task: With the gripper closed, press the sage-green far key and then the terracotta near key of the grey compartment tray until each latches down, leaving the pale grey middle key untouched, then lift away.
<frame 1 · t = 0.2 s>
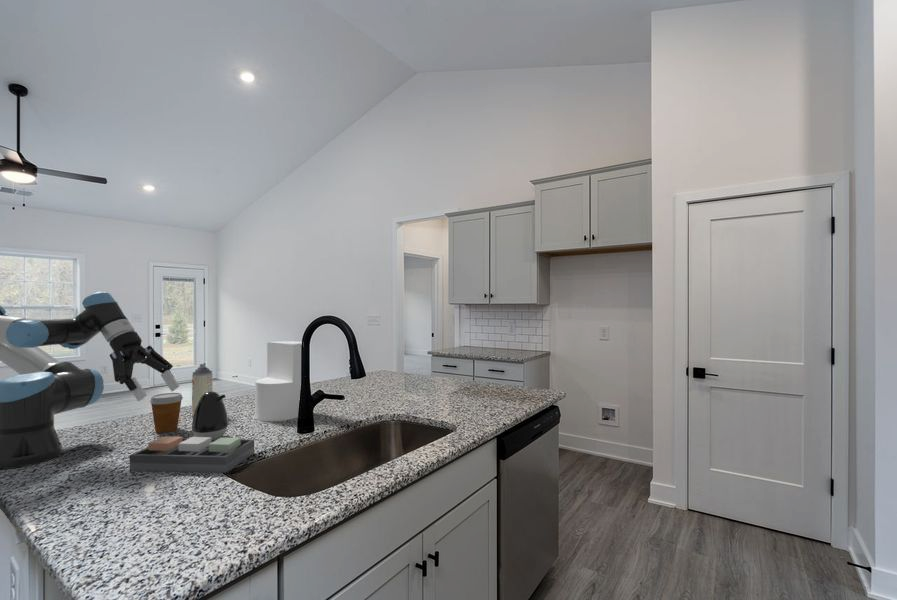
hand: (160, 393, 130), 16 cm above the worktop, tool tilted 35°, fingers open, 13 cm apart
key sage: (224, 444, 116), point 5 cm above the worktop, slide at 0.0 cm
key grey: (195, 444, 116), point 5 cm above the worktop, slide at 0.0 cm
white toilet: (279, 415, 164), on the worktop
disposable coffee cup: (166, 430, 145), on the worktop
key terracotta: (165, 443, 117), point 5 cm above the worktop, slide at 0.0 cm
aerosol can: (202, 416, 164), on the worktop
grey compartment tray: (195, 461, 116), on the worktop
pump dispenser: (210, 439, 136), on the worktop
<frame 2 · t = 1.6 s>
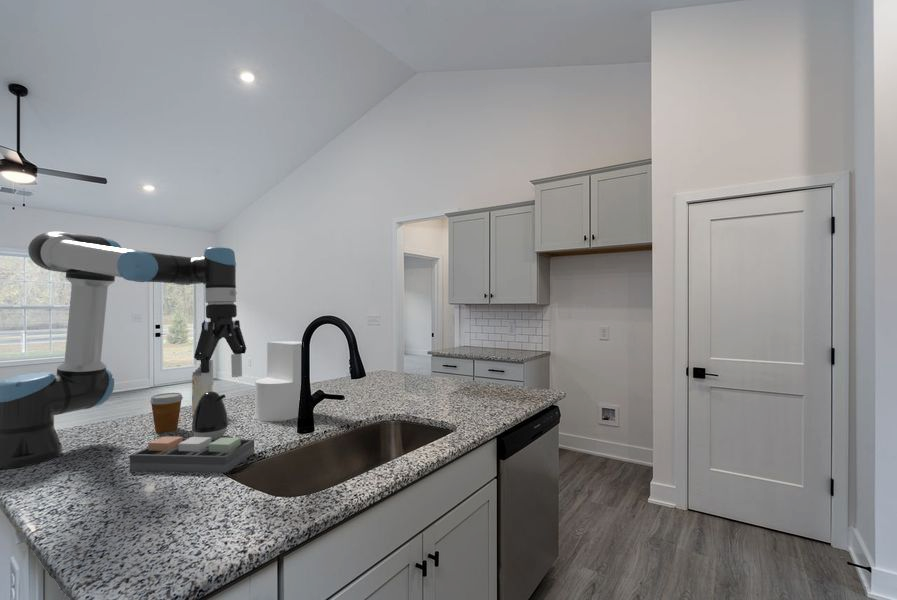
hand: (223, 380, 116), 22 cm above the worktop, tool pointing down, fingers open, 13 cm apart
nothing on the worktop moved.
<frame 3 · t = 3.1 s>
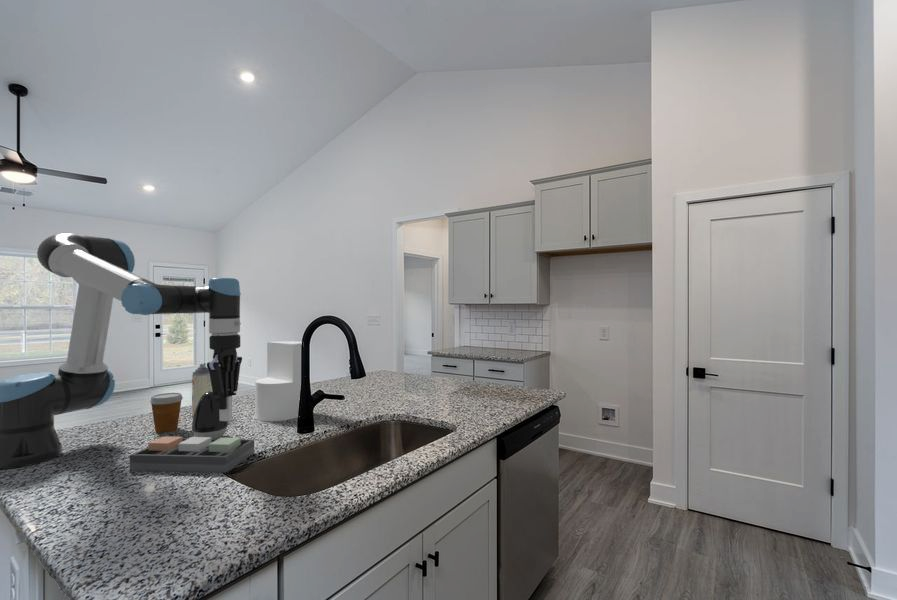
hand: (225, 420, 116), 11 cm above the worktop, tool pointing down, fingers closed
nothing on the worktop moved.
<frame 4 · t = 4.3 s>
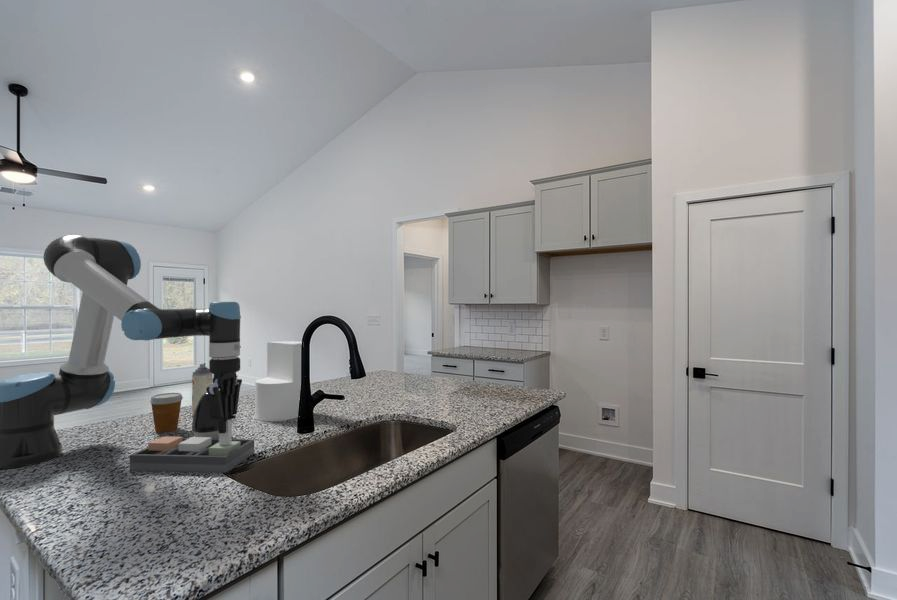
hand: (225, 443, 116), 5 cm above the worktop, tool pointing down, fingers closed
key sage: (224, 448, 116), point 4 cm above the worktop, slide at 1.0 cm, touching gripper
everything else where it was.
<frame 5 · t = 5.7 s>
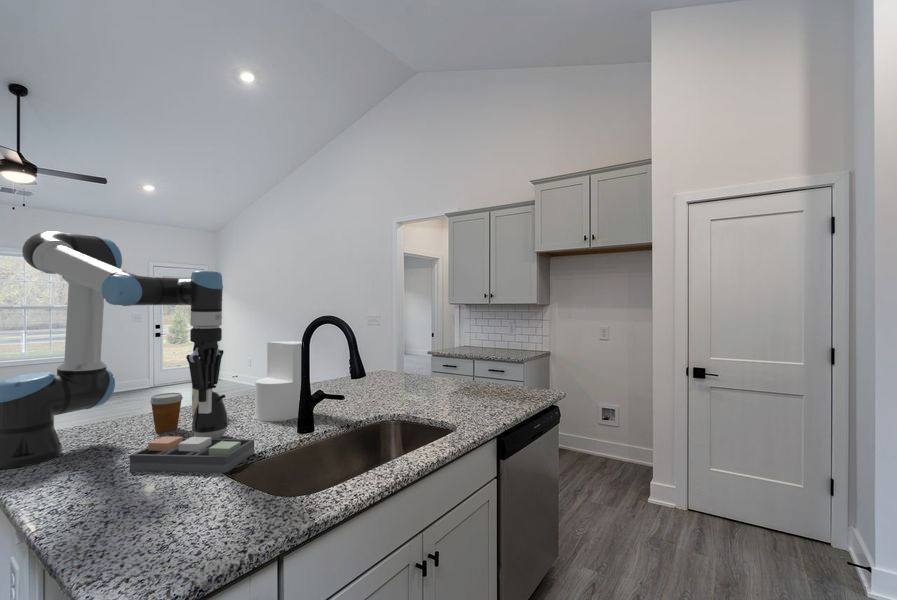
hand: (205, 412, 116), 13 cm above the worktop, tool pointing down, fingers closed
key sage: (224, 448, 116), point 4 cm above the worktop, slide at 1.1 cm
everything else where it was.
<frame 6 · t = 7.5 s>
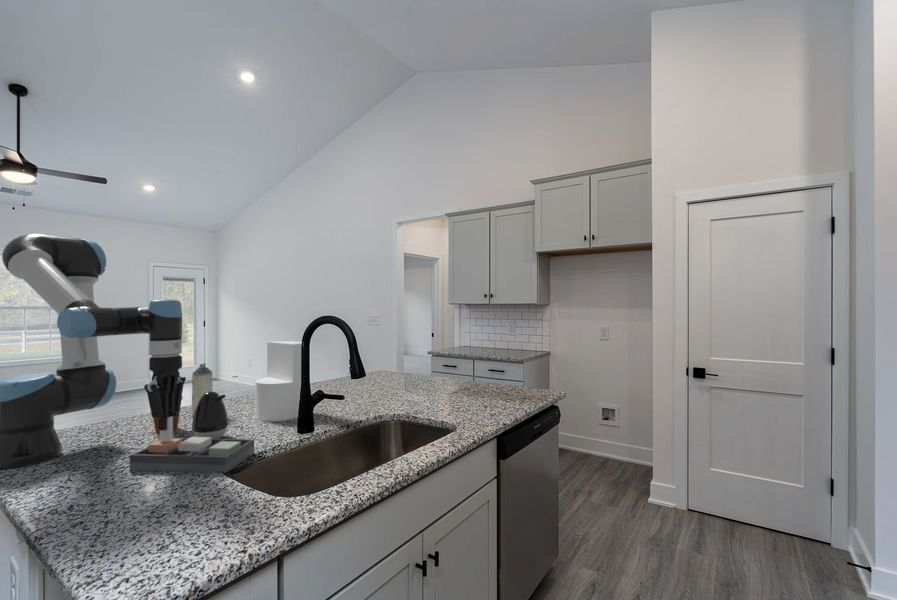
hand: (166, 440, 117), 6 cm above the worktop, tool pointing down, fingers closed
key terracotta: (165, 445, 117), point 4 cm above the worktop, slide at 0.5 cm, touching gripper
everything else where it was.
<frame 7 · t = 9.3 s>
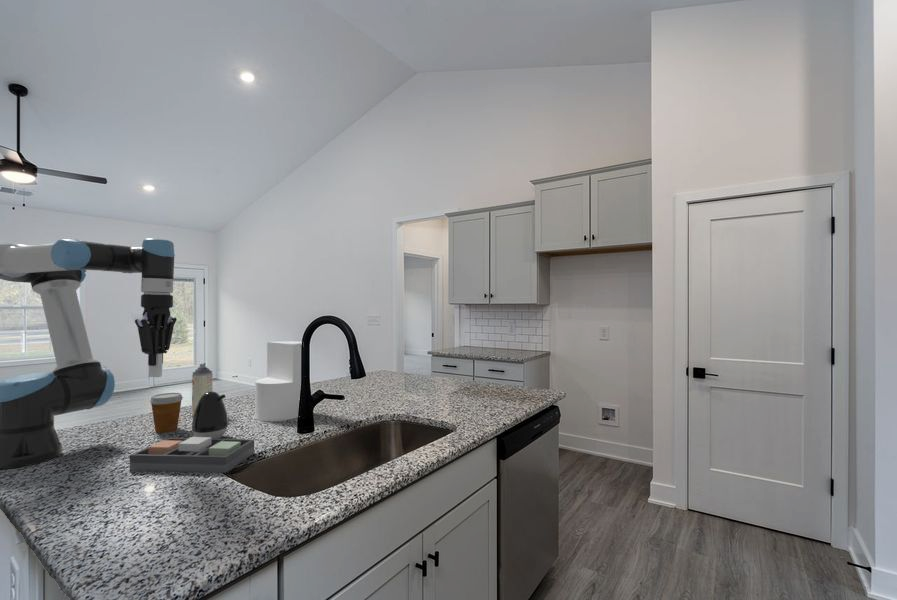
hand: (155, 376, 120), 23 cm above the worktop, tool pointing down, fingers closed
key terracotta: (165, 447, 117), point 4 cm above the worktop, slide at 1.1 cm
everything else where it was.
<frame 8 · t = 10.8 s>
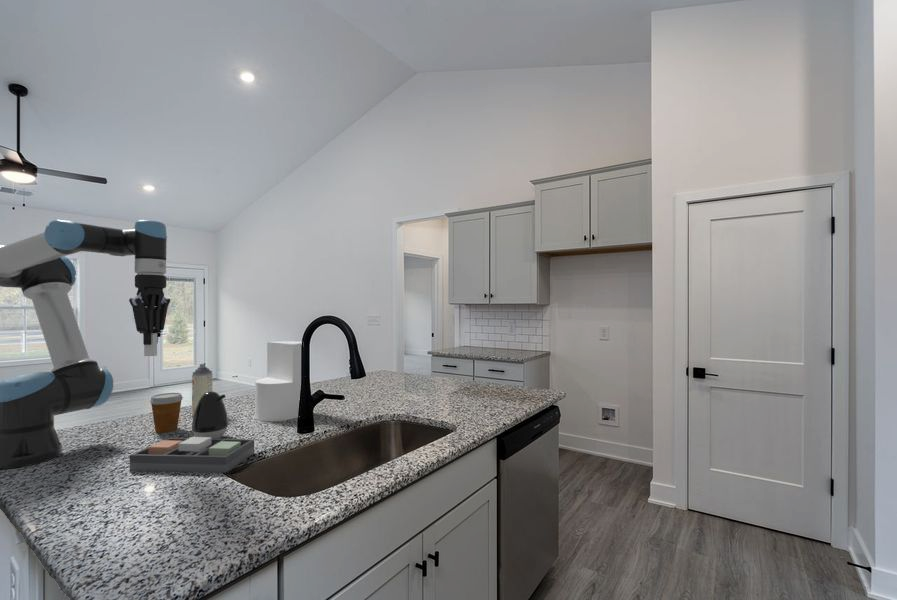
hand: (150, 355, 122), 28 cm above the worktop, tool pointing down, fingers closed
nothing on the worktop moved.
at the end: key sage slide at 1.1 cm; key terracotta slide at 1.1 cm; key grey slide at 0.0 cm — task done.
